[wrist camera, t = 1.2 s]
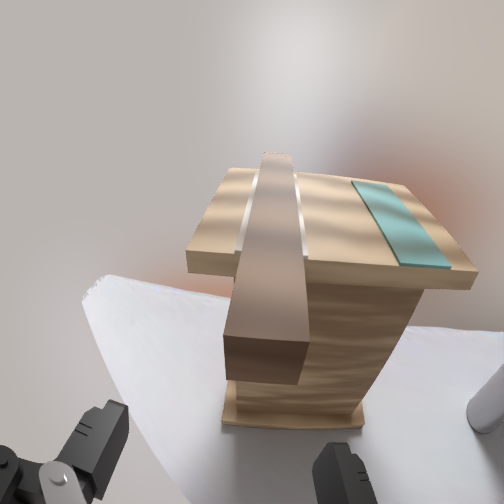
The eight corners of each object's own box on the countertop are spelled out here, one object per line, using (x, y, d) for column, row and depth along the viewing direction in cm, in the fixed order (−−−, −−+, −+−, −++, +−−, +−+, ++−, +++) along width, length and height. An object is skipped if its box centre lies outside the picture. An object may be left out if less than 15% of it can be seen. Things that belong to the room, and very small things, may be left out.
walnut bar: (297, 385, 11) (309, 341, 10) (226, 379, 11) (223, 335, 10) (288, 178, 33) (290, 154, 31) (262, 176, 33) (264, 152, 31)
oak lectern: (367, 432, 36) (480, 268, 19) (214, 428, 38) (185, 246, 20) (353, 341, 53) (404, 183, 35) (231, 334, 54) (230, 165, 37)
